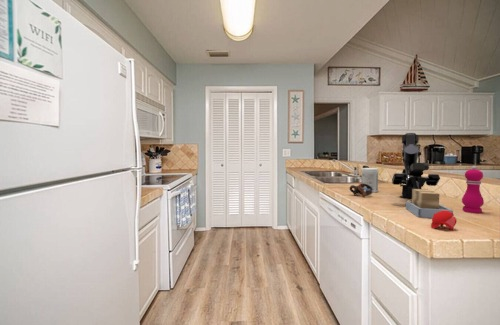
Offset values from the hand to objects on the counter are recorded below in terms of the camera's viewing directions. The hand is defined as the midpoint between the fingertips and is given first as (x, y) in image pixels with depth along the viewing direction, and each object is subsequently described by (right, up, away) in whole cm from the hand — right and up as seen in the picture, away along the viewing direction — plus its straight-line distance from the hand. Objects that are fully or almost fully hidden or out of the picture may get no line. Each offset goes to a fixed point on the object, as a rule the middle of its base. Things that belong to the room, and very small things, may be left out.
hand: (419, 193), depth 117 cm
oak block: (-2, -7, -6) cm, 9 cm away
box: (-2, -7, -9) cm, 11 cm away
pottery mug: (-13, -5, +32) cm, 35 cm away
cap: (-11, -9, -28) cm, 31 cm away
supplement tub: (-1, -4, +47) cm, 47 cm away
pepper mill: (+20, -7, -5) cm, 21 cm away
